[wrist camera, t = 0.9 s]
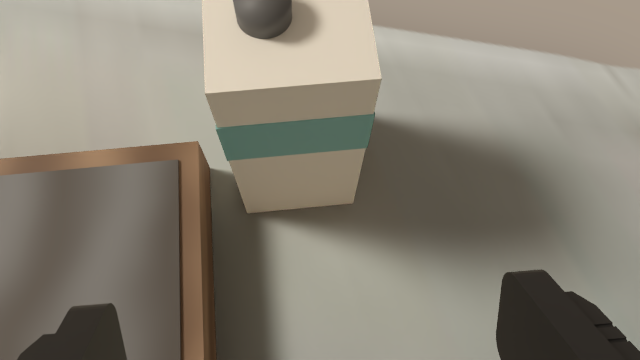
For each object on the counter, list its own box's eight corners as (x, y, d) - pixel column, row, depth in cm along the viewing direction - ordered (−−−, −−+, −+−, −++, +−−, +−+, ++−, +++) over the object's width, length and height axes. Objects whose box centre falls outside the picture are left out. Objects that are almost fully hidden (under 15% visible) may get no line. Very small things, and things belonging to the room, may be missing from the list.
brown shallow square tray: (209, 167, 31) (197, 140, 28) (220, 479, 25) (207, 492, 22) (-77, 193, 30) (-126, 168, 27) (-134, 523, 24) (-206, 544, 21)
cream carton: (340, 109, 33) (361, -78, 20) (354, 204, 30) (387, 63, 17) (240, 118, 32) (193, -67, 19) (246, 214, 30) (197, 78, 17)
